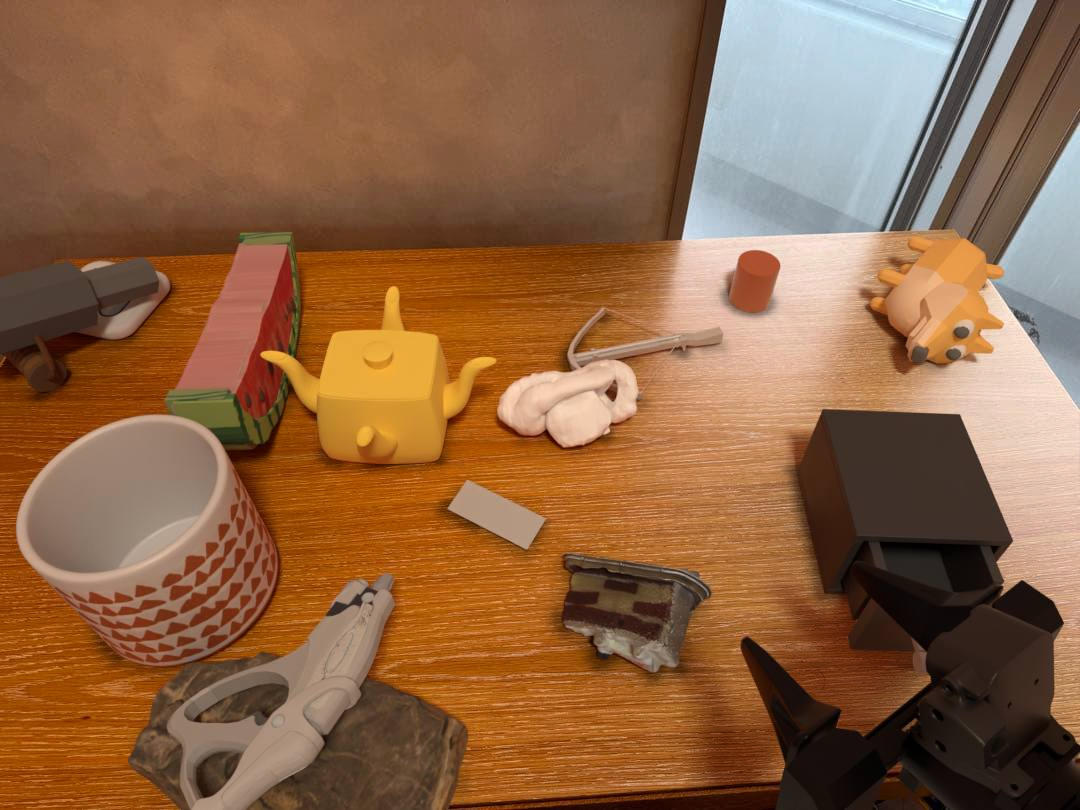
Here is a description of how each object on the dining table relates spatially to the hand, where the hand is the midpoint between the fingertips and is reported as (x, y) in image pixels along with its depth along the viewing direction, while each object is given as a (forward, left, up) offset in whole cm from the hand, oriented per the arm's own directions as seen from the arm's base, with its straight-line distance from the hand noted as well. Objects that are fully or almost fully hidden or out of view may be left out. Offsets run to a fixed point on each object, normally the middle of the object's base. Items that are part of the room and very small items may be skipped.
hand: (800, 602), depth 49 cm
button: (+74, +12, -14) cm, 77 cm away
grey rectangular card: (+24, +3, -14) cm, 28 cm away
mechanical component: (+67, +20, -6) cm, 70 cm away
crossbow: (+30, -21, -15) cm, 39 cm away
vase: (+35, +25, -15) cm, 45 cm away
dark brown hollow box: (+2, -20, -15) cm, 25 cm away
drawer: (-4, -15, -14) cm, 21 cm away
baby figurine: (+32, -11, -10) cm, 35 cm away
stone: (+18, +26, -15) cm, 35 cm away
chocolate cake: (+10, +2, -15) cm, 18 cm away
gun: (+25, +26, -9) cm, 37 cm away
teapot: (+39, +4, -15) cm, 42 cm away
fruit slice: (+50, +11, -15) cm, 53 cm away
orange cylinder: (+28, -36, -15) cm, 48 cm away
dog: (+19, -46, -12) cm, 52 cm away
